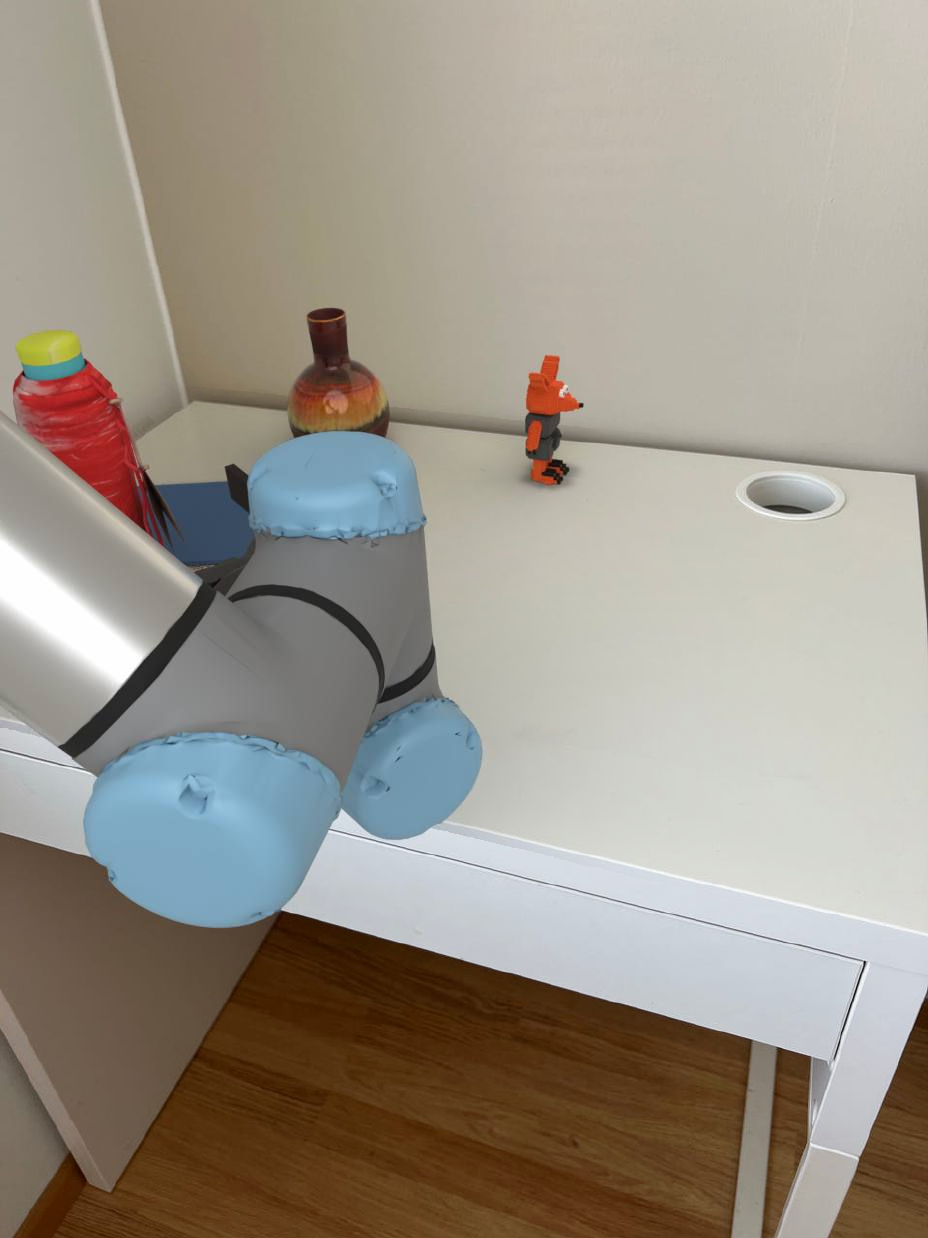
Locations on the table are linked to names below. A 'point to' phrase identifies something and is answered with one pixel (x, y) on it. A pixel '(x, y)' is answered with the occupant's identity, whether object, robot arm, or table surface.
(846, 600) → the table surface
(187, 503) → the blue mat
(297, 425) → the vase
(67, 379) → the water bottle
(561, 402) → the toy animal
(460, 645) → the table surface
